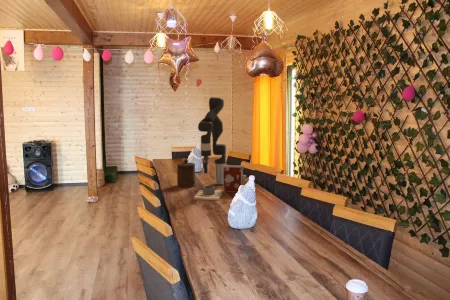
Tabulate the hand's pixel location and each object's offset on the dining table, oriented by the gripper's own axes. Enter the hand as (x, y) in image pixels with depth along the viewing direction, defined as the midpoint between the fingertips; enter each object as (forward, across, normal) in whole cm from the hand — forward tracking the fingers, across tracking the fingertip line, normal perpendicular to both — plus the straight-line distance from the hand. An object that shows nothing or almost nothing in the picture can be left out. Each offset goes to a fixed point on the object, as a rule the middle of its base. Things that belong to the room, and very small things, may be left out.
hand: (206, 172), depth 295 cm
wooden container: (+18, -33, -23) cm, 44 cm away
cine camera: (+18, -16, +20) cm, 31 cm away
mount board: (+17, 0, +2) cm, 17 cm away
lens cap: (+2, 0, 0) cm, 2 cm away
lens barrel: (+16, 0, +2) cm, 16 cm away
